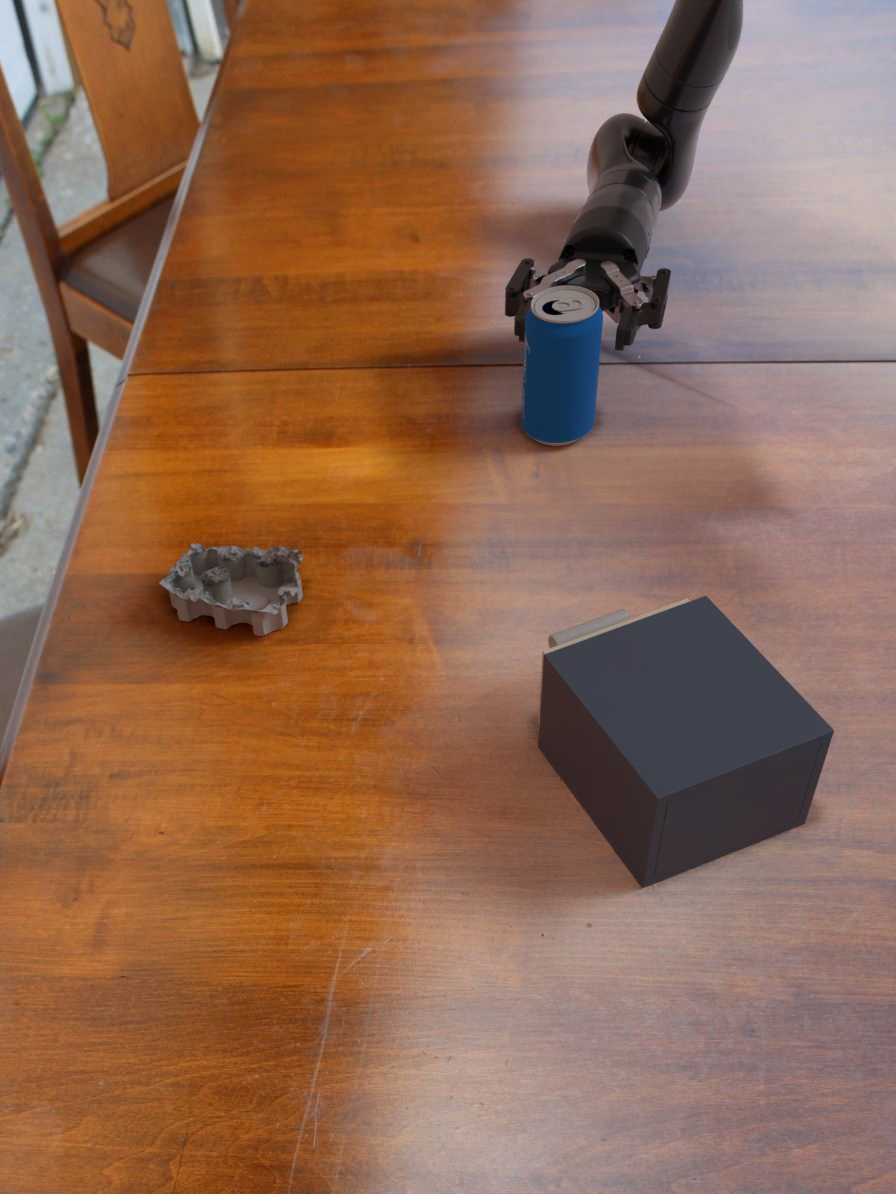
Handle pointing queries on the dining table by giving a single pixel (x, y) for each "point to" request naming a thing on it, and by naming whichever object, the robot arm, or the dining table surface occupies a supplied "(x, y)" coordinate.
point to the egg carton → (236, 585)
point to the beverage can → (561, 364)
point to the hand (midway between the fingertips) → (570, 337)
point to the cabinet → (680, 739)
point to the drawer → (594, 631)
